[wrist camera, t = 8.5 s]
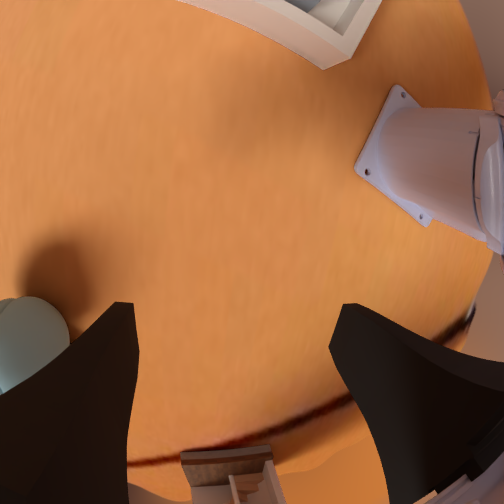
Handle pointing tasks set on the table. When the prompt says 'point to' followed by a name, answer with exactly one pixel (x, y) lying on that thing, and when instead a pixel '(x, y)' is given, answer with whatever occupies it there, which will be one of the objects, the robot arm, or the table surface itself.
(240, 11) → the box
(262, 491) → the tall white shelf
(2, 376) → the toy flower bud
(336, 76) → the table surface
